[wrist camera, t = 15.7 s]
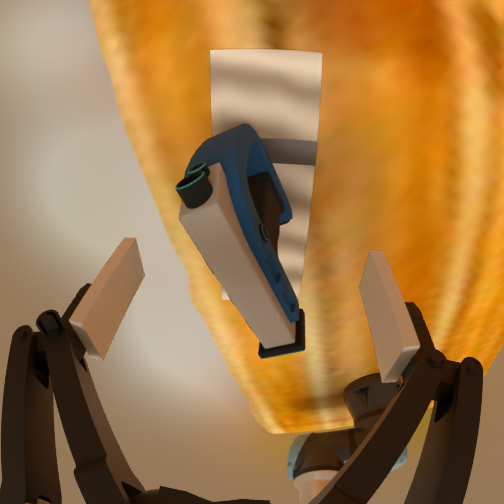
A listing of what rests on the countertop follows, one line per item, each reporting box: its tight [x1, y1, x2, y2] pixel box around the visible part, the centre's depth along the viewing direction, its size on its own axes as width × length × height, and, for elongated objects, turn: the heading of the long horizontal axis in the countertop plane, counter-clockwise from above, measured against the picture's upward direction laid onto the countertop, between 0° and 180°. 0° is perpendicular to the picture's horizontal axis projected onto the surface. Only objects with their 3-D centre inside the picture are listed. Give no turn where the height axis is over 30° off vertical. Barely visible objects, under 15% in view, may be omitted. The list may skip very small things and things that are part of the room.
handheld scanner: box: [176, 123, 305, 359], centre depth 27 cm, size 5×16×20 cm, turn 24°
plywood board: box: [210, 49, 322, 300], centre depth 37 cm, size 36×12×1 cm, turn 0°
